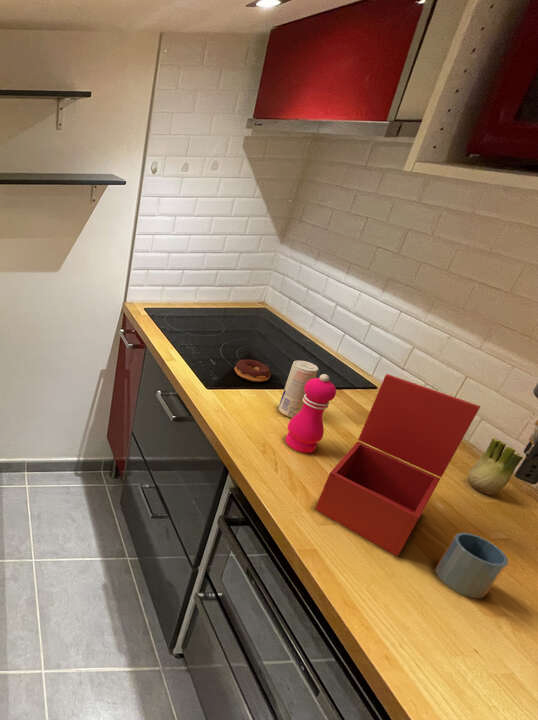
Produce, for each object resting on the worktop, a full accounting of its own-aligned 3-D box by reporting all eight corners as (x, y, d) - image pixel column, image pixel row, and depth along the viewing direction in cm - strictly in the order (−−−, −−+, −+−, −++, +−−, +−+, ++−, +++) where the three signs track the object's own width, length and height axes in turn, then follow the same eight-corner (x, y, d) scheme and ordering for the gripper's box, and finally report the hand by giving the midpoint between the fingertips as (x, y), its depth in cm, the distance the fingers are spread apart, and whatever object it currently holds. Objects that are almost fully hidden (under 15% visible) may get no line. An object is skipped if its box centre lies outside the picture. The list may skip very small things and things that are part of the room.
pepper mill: (276, 438, 111) (299, 369, 103) (298, 432, 113) (322, 364, 105) (301, 457, 105) (328, 385, 97) (324, 451, 107) (352, 380, 99)
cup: (475, 573, 78) (496, 541, 75) (492, 604, 73) (516, 572, 70) (430, 558, 81) (449, 527, 78) (443, 588, 76) (464, 556, 72)
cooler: (397, 556, 81) (418, 517, 77) (314, 509, 91) (330, 472, 87) (420, 515, 90) (440, 478, 86) (342, 475, 100) (357, 441, 96)
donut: (238, 364, 145) (240, 353, 143) (271, 374, 139) (275, 363, 138) (229, 376, 138) (232, 365, 136) (265, 388, 132) (268, 376, 131)
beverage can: (306, 418, 119) (324, 370, 113) (286, 419, 118) (303, 370, 112) (292, 406, 124) (308, 359, 118) (273, 407, 123) (288, 359, 117)
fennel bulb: (500, 501, 93) (529, 457, 88) (469, 493, 96) (496, 449, 91) (489, 483, 98) (516, 440, 93) (460, 475, 100) (485, 433, 95)
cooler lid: (479, 407, 78) (485, 397, 81) (385, 374, 88) (393, 366, 91) (441, 477, 85) (447, 465, 88) (357, 440, 95) (366, 430, 98)
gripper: (554, 351, 67) (502, 436, 74) (542, 380, 59) (485, 473, 66) (634, 372, 62) (570, 462, 69) (633, 407, 54) (561, 505, 61)
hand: (528, 467), depth 67 cm, fingers open, 8 cm apart
